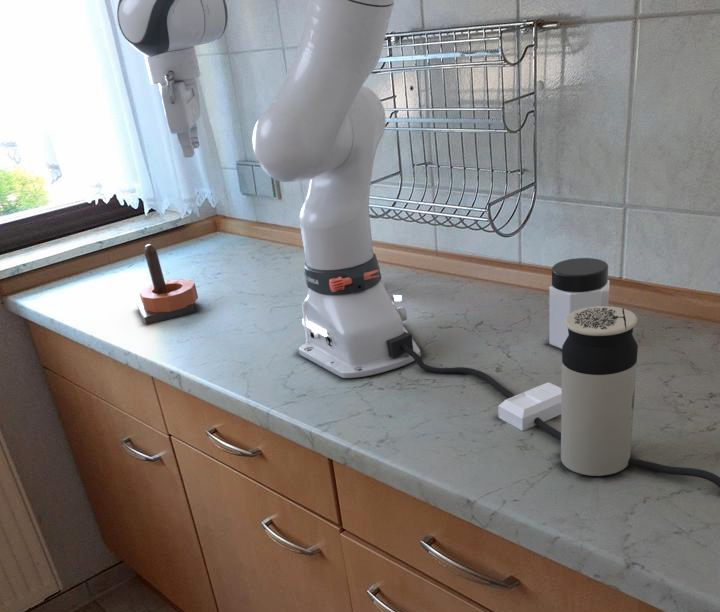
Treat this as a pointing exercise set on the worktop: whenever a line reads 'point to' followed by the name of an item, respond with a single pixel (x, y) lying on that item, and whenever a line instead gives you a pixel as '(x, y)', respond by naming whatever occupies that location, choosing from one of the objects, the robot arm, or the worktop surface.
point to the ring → (169, 296)
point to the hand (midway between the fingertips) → (192, 152)
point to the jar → (575, 292)
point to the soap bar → (532, 406)
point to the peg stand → (158, 289)
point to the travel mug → (598, 390)
